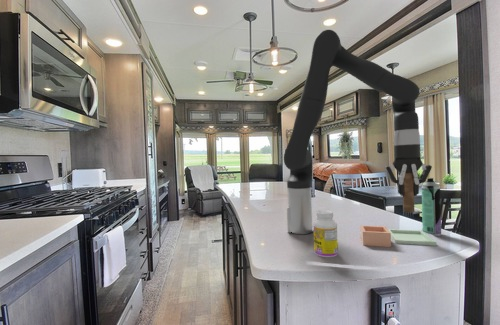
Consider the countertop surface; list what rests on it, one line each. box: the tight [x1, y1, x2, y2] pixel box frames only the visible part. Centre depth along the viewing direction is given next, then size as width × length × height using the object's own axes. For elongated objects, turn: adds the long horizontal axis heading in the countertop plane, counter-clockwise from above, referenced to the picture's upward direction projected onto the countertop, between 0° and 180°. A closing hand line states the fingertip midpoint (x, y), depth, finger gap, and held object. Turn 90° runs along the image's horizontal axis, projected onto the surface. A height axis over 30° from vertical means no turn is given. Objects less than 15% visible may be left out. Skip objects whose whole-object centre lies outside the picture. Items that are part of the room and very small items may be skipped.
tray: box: [387, 228, 437, 247], centre depth 85 cm, size 11×13×2 cm
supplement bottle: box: [312, 209, 339, 258], centre depth 75 cm, size 7×7×13 cm
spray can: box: [421, 177, 442, 237], centre depth 92 cm, size 6×6×20 cm
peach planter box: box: [359, 224, 392, 248], centre depth 83 cm, size 8×8×5 cm
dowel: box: [402, 173, 416, 213], centre depth 85 cm, size 3×3×13 cm
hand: (408, 195), depth 85 cm, fingers closed on dowel, 3 cm apart
